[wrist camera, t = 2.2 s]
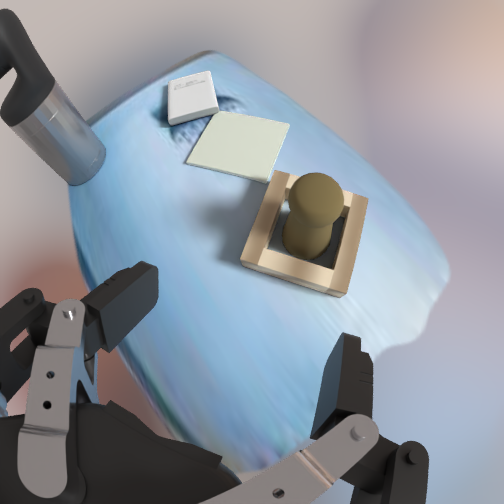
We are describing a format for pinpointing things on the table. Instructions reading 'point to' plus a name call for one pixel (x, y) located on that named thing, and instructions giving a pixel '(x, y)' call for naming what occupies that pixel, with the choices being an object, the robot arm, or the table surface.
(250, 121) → the mat
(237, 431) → the table surface
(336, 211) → the cork
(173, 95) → the external hard drive
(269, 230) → the holder
